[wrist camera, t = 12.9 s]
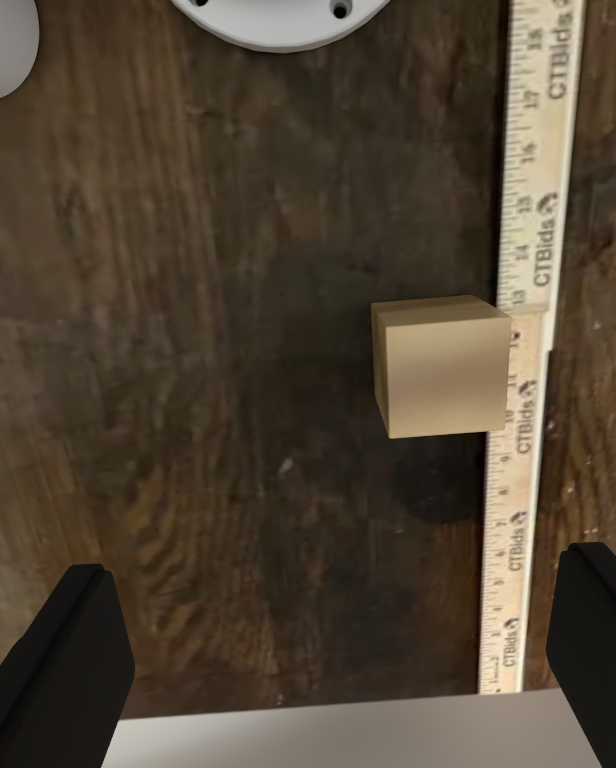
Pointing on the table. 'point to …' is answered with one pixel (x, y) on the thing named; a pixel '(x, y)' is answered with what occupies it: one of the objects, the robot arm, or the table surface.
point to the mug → (17, 42)
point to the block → (440, 365)
